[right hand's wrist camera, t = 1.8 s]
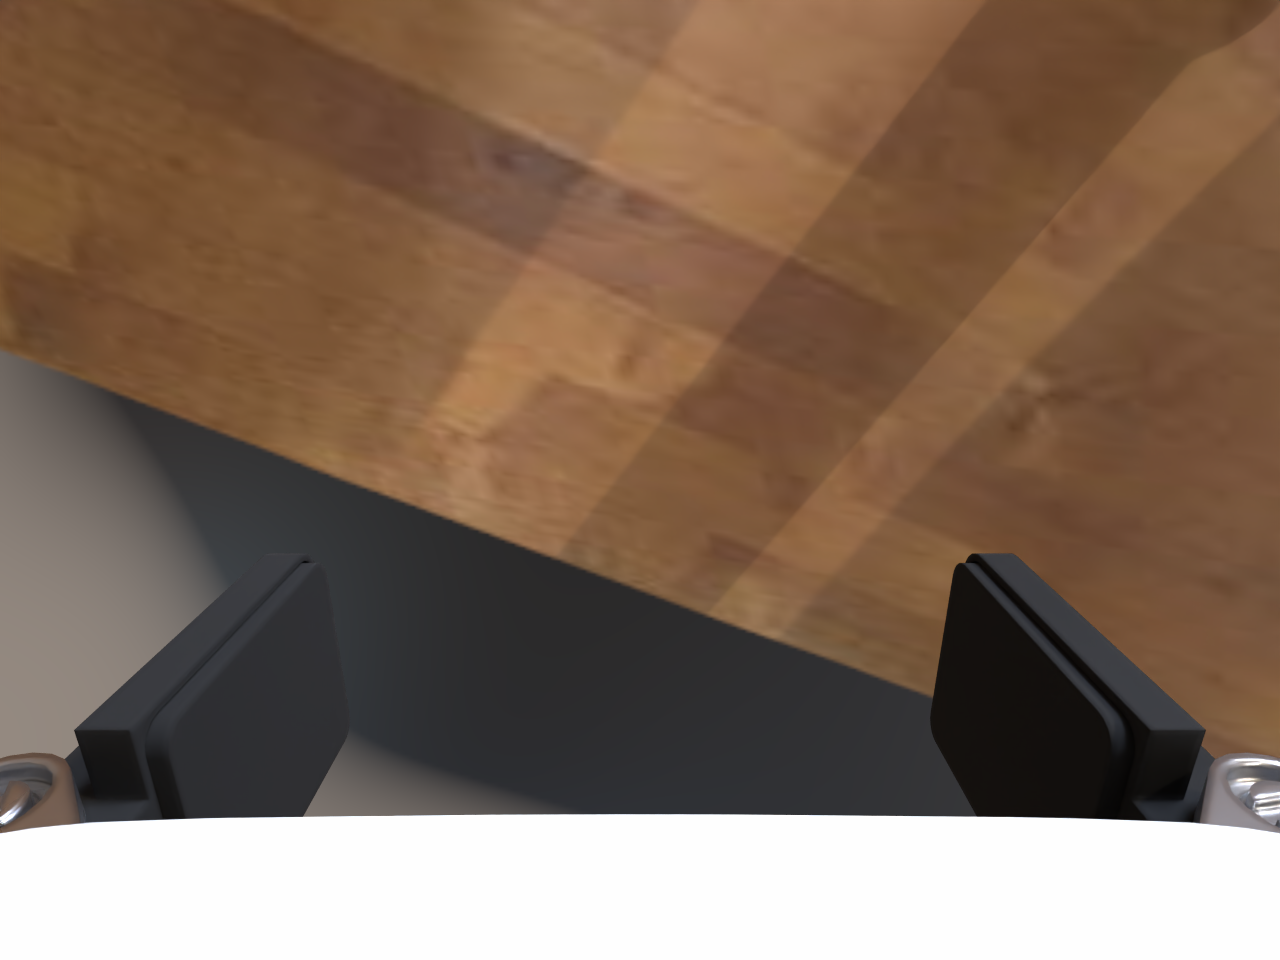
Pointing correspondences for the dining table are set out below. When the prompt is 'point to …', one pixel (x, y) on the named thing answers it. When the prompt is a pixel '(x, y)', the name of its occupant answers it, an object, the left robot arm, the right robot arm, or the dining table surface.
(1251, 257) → the dining table surface
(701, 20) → the dining table surface
